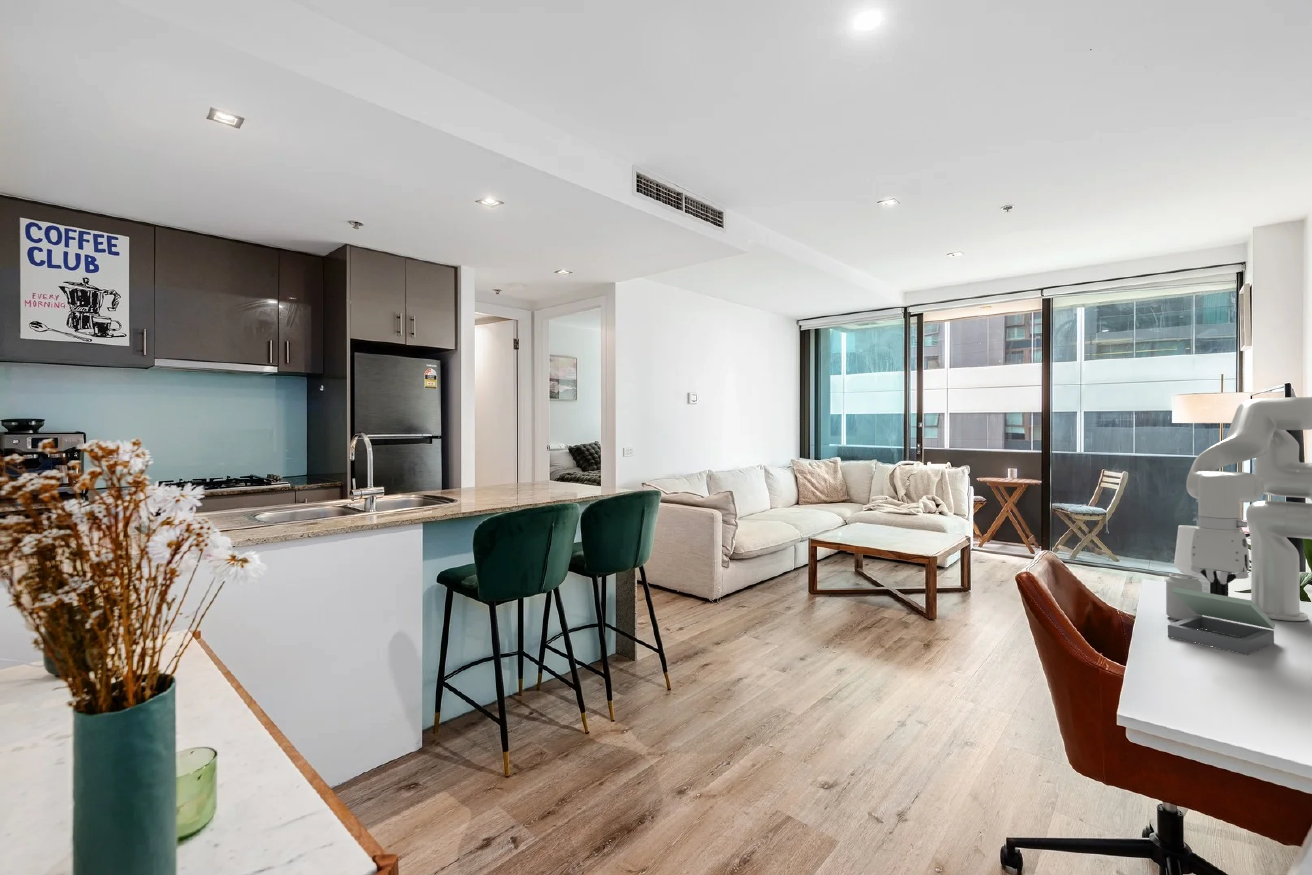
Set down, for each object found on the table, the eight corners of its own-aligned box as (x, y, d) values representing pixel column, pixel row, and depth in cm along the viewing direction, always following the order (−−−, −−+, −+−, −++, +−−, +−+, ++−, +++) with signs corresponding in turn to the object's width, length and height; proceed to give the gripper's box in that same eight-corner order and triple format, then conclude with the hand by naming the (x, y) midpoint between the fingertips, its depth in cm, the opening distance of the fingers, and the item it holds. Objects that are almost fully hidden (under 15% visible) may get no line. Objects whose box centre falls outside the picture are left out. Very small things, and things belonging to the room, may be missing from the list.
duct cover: (1196, 614, 163) (1197, 609, 164) (1274, 629, 150) (1275, 624, 151) (1171, 591, 157) (1172, 586, 157) (1250, 605, 143) (1251, 600, 144)
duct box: (1196, 626, 163) (1196, 615, 163) (1273, 642, 150) (1273, 630, 150) (1167, 636, 156) (1167, 624, 156) (1246, 655, 142) (1246, 641, 142)
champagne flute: (1202, 609, 179) (1202, 525, 179) (1207, 615, 173) (1207, 528, 173) (1172, 605, 183) (1172, 524, 182) (1176, 611, 177) (1176, 527, 177)
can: (1203, 625, 164) (1203, 580, 164) (1167, 620, 169) (1167, 576, 169) (1200, 618, 170) (1200, 574, 170) (1165, 613, 175) (1165, 571, 175)
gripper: (1265, 526, 148) (1266, 603, 148) (1188, 519, 161) (1188, 590, 161) (1253, 529, 144) (1253, 608, 144) (1174, 521, 157) (1175, 594, 157)
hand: (1219, 598), depth 153 cm, fingers closed
